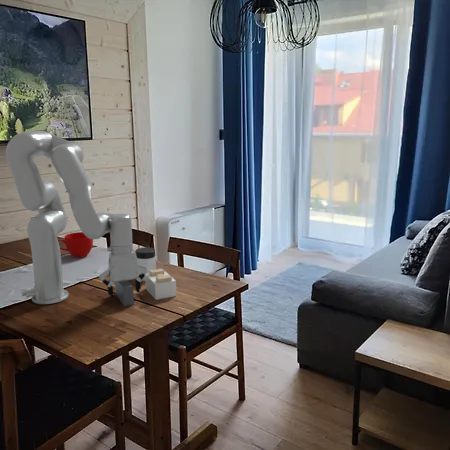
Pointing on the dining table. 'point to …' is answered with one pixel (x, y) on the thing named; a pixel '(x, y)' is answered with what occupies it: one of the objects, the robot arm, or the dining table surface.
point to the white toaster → (160, 284)
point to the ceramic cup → (77, 244)
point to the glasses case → (124, 292)
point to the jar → (146, 259)
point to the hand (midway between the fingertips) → (124, 293)
